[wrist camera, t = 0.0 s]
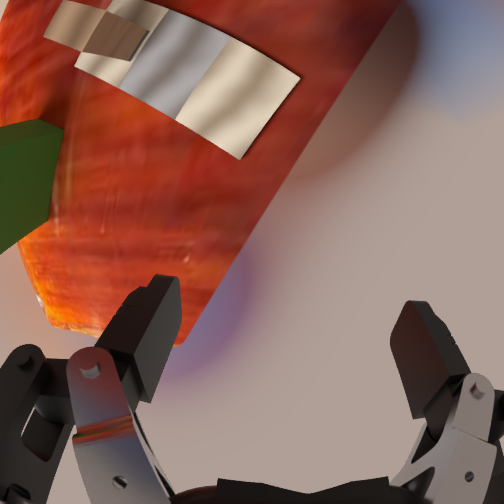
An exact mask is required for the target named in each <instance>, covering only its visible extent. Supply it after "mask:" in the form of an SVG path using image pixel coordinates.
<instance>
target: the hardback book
mask: <svg viewBox="0 0 504 504" xmlns="http://www.w3.org/2000/svg"><path fill="white" fill-rule="evenodd" d="M63 134H64V130H63V129H61V128H59V127H56V126H54V125H52V124H49V123H47V122H45V121H43V120H40V119H34V120H29V121H24V122H20V123H15V124H11V125H7V126H3V127H0V254H2V253H3V252H4V251H6V250H7V249H8V248H10V247H11V246H12V245H14V244H15V243H16V242H18V241H19V240H20V239H22V238H23V237H25V236H26V235H27V234H29V233H30V232H32V231H33V230H35V229H36V228H38V227H39V226H40V225H42V224H43V223H45V222H47V221H48V215H49V206H50V199H51V192H52V186H53V180H54V174H55V169H56V164H57V159H58V155H59V150H60V146H61V142H62V138H63Z"/></svg>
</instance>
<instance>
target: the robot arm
mask: <svg viewBox="0 0 504 504" xmlns="http://www.w3.org/2000/svg"><path fill="white" fill-rule="evenodd" d="M181 320H182V309H181V297H180V285H179V279H178V277H174V276H167V275H159V274H156V275H155V276H154V277H153V279H152V280H151V282H150V283H149V285H148V286H147V287H141V286H140V287H139V288H137V289H136V290H134V291H133V292H131V293H130V294H129V295H128V296H127V298H126V299H125V300H124V302H123V303H122V306H120V308H119V309H118V311H117V312H116V315H114V317H113V318H112V320H111V321H110V323H109V324H108V326H107V327H106V329H105V330H104V332H103V333H102V335H101V336H100V338H99V339H98V341H97V343H96V344H95V346H94V347H86V348H83V349H80V350H78V351H77V352H75V353H74V354H73V355H72V356H71V357H70V359H50V358H45V356H44V354H43V352H42V350H41V349H40V348H39V347H38V346H36V345H33V344H25V345H22V346H19V347H17V348H16V349H14V350H13V351H12V352H11V353H10V355H9V356H8V358H7V359H6V361H5V362H4V364H3V365H2V367H1V368H0V504H46V502H47V499H48V495H49V492H50V489H51V486H52V483H53V480H54V476H55V474H56V471H57V468H58V465H59V462H60V459H61V457H62V454H63V451H64V449H65V446H66V443H67V441H68V438H69V436H70V433H71V431H72V428H73V426H74V425H76V428H77V434H74V435H73V437H72V442H73V448H74V452H75V456H76V459H77V463H78V466H79V470H80V473H81V476H82V479H83V482H84V485H85V488H86V491H87V493H88V496H89V499H90V502H91V504H504V456H503V452H502V448H501V445H500V441H499V439H500V438H501V437H502V436H503V435H504V391H501V390H495V389H494V388H493V386H492V385H491V383H490V381H489V380H488V379H487V378H486V377H484V376H483V375H480V374H478V373H471V371H470V369H469V367H468V365H467V363H466V361H465V359H464V357H463V355H462V353H461V351H460V349H459V348H458V346H457V345H456V344H455V343H456V342H455V340H454V338H453V337H452V336H451V333H450V331H449V330H448V328H447V326H446V325H445V323H444V322H443V321H442V320H441V319H440V318H439V317H437V316H436V315H435V313H434V312H433V310H432V308H431V307H430V305H429V304H428V303H427V302H426V301H410V300H409V301H407V302H406V303H405V305H404V307H403V309H402V311H401V314H400V316H399V318H398V320H397V322H396V324H395V326H394V329H393V331H392V333H391V337H390V347H391V350H392V353H393V356H394V359H395V362H396V365H397V368H398V371H399V374H400V377H401V380H402V383H403V387H404V390H405V393H406V396H407V400H408V403H409V407H410V410H411V414H412V417H413V419H418V418H426V421H427V422H426V423H425V424H424V425H423V426H422V428H421V431H420V433H419V435H418V438H417V440H416V442H415V444H414V446H413V448H412V451H411V452H410V455H409V457H408V459H407V461H406V463H405V465H404V467H403V468H402V469H401V471H400V472H399V473H398V474H397V475H396V476H395V477H394V478H393V480H392V481H391V482H390V483H389V479H388V476H387V477H381V478H375V479H368V480H360V481H351V482H349V483H345V484H342V485H339V486H336V487H333V488H330V489H326V490H323V491H319V492H316V493H310V494H306V493H300V492H296V491H291V490H287V489H283V488H279V487H275V486H271V485H268V484H264V483H255V482H243V481H235V480H227V479H220V478H218V481H217V485H216V486H205V487H199V488H194V489H190V490H186V491H184V492H181V493H178V494H176V493H175V491H174V489H173V487H172V486H171V484H170V482H169V480H168V479H167V477H166V475H165V473H164V471H163V469H162V468H161V466H160V464H159V462H158V460H157V458H156V456H155V454H154V452H153V450H152V448H151V446H150V444H149V441H148V439H147V437H146V435H145V432H144V430H143V428H142V425H141V423H140V420H139V418H138V416H137V413H136V411H135V410H136V408H137V405H138V403H139V400H140V401H144V402H147V403H151V401H152V398H153V395H154V393H155V390H156V387H157V385H158V382H159V379H160V377H161V374H162V372H163V369H164V367H165V364H166V362H167V359H168V357H169V354H170V351H171V349H172V347H173V344H174V342H175V339H176V337H177V334H178V332H179V329H180V326H181ZM33 407H34V408H35V409H34V411H33V413H32V415H31V417H30V420H29V422H28V424H27V426H26V428H25V430H24V432H23V435H22V437H21V433H22V430H23V428H24V425H25V423H26V421H27V419H28V417H29V415H30V413H31V411H32V409H33Z"/></svg>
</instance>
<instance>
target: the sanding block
mask: <svg viewBox="0 0 504 504" xmlns="http://www.w3.org/2000/svg"><path fill="white" fill-rule="evenodd" d="M149 32H150V31H148V30H146V29H144V28H142V27H140V26H138V25H136V24H134V23H132V22H130V21H128V20H126V19H124V18H122V17H119V16H117V15H115V14H113V13H110V12H108V11H105V10H102V9H99V8H95V7H91V6H88V5H84V4H80V3H76V2H71V1H67V0H63V2H62V3H61V5H60V7H59V8H58V10H57V12H56V13H55V15H54V17H53V19H52V20H51V22H50V24H49V26H48V28H47V30H46V32H45V34H44V36H43V37H45V38H48V39H51V40H53V41H56V42H59V43H61V44H64V45H66V46H69V47H71V48H74V49H76V50H79V51H81V52H85V53H91V54H96V55H101V56H106V57H111V58H116V59H120V60H124V61H129V62H130V61H131V60H132V58H133V56H134V55H135V53H136V52H137V50H138V48H139V47H140V45H141V44H142V42H143V41H144V39H145V38H146V36H147V35H148V33H149Z"/></svg>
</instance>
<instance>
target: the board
mask: <svg viewBox="0 0 504 504" xmlns="http://www.w3.org/2000/svg"><path fill="white" fill-rule="evenodd" d="M106 11H108V12H110V13H113V14H115V15H117V16H119V17H122V18H124V19H126V20H128V21H130V22H132V23H134V24H136V25H138V26H140V27H142V28H144V29H146V30H148V31H150V32H149V33H148V35H147V36H146V38H145V39H144V41H143V42H142V44H141V45H140V47H139V48H138V50H137V52H136V53H135V55H134V56H133V58H132V60H131V61H130V62H129V61H124V60H120V59H116V58H111V57H106V56H101V55H96V54H91V53H85V52H81V54H80V56H79V58H78V60H77V62H76V64H75V67H77V68H79V69H81V70H83V71H85V72H88V73H90V74H92V75H94V76H96V77H98V78H100V79H102V80H104V81H106V82H108V83H109V84H111V85H113V86H115V87H117V88H119V89H121V90H123V91H125V92H127V93H129V94H131V95H132V96H134V97H136V98H138V99H140V100H141V101H143V102H145V103H147V104H149V105H150V106H152V107H154V108H156V109H157V110H159V111H161V112H163V113H164V114H166V115H168V116H170V117H171V118H173V119H175V120H176V121H178V122H180V123H181V124H183V125H185V126H186V127H188V128H190V129H191V130H193V131H195V132H196V133H198V134H200V135H201V136H203V137H204V138H206V139H208V140H209V141H211V142H212V143H214V144H215V145H217V146H219V147H220V148H222V149H223V150H225V151H226V152H228V153H229V154H231V155H233V156H234V157H236V158H237V159H239V160H240V159H241V158H242V156H243V155H244V153H245V152H246V151H247V149H248V148H249V146H250V145H251V144H252V142H253V141H254V139H255V138H256V137H257V135H258V134H259V132H260V131H261V130H262V128H263V127H264V126H265V124H266V123H267V121H268V120H269V119H270V117H271V116H272V115H273V113H274V112H275V111H276V109H277V108H278V107H279V105H280V104H281V103H282V102H283V100H284V99H285V98H286V96H287V95H288V94H289V92H290V91H291V90H292V89H293V87H294V86H295V85H296V83H297V82H298V81H299V80H300V78H299V77H298V76H296V75H295V74H293V73H292V72H290V71H289V70H287V69H286V68H284V67H283V66H281V65H279V64H278V63H276V62H275V61H273V60H271V59H270V58H268V57H266V56H265V55H263V54H261V53H260V52H258V51H256V50H254V49H253V48H251V47H249V46H247V45H246V44H244V43H242V42H240V41H238V40H236V39H234V38H232V37H230V36H229V35H227V34H225V33H223V32H221V31H219V30H216V29H214V28H212V27H210V26H208V25H206V24H204V23H201V22H199V21H197V20H195V19H192V18H190V17H187V16H185V15H183V14H180V13H178V12H175V11H172V10H170V9H167V8H165V7H162V6H159V5H156V4H153V3H150V2H147V1H144V0H113V1H112V3H111V4H110V6H109V7H108V8H107V10H106Z"/></svg>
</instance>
